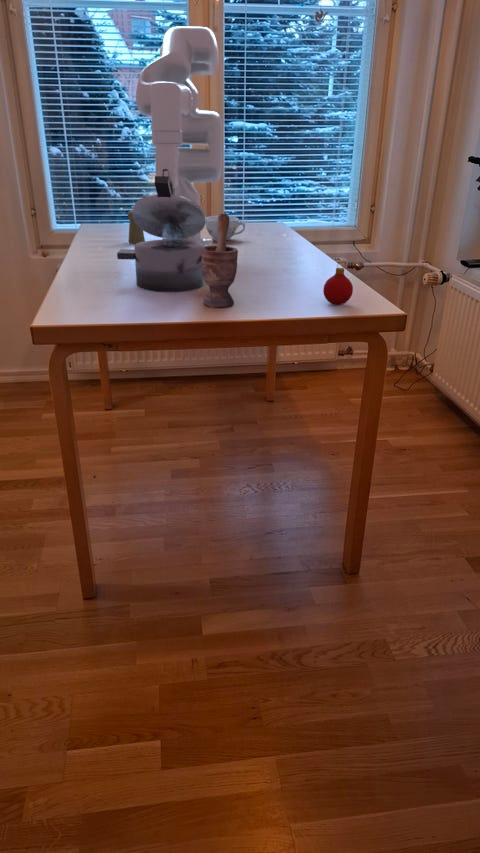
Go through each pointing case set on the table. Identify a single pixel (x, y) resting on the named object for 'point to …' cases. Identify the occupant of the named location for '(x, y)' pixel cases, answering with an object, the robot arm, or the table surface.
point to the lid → (168, 213)
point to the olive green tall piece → (134, 231)
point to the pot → (166, 264)
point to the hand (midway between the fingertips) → (169, 216)
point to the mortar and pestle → (219, 267)
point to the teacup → (233, 225)
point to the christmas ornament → (338, 288)
